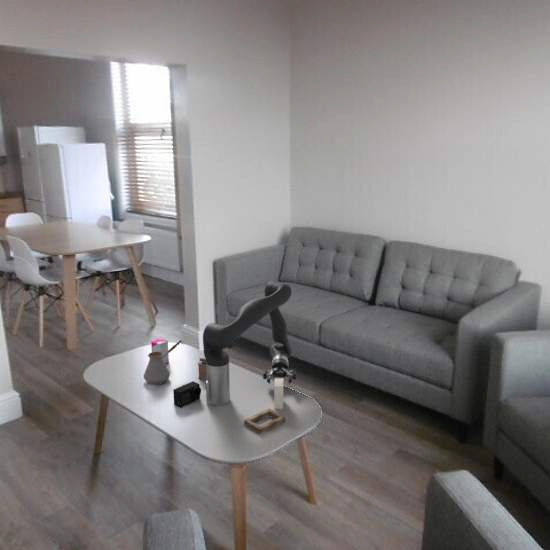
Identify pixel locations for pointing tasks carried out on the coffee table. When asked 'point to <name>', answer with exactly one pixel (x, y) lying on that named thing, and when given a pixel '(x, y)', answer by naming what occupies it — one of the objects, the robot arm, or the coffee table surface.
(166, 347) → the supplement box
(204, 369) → the lighter
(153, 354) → the coffee pot
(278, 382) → the key block
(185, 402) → the digital camera
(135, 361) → the coffee table surface
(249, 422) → the frame
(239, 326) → the robot arm
